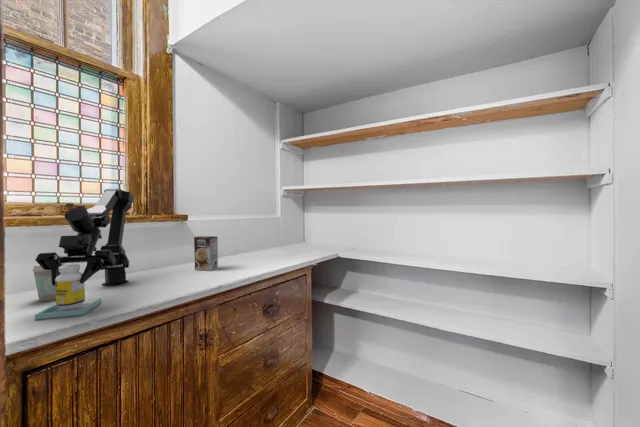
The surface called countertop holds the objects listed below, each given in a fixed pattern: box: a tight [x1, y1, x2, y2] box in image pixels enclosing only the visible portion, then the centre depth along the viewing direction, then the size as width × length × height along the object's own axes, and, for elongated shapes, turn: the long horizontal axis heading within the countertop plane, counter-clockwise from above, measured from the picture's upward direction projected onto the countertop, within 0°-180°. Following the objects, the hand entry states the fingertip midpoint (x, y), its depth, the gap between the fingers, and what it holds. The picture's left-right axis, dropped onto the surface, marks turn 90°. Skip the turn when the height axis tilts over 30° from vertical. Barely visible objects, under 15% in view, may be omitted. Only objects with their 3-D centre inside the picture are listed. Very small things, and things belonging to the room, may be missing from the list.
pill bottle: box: [55, 263, 86, 308], centre depth 84 cm, size 6×6×12 cm
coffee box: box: [193, 235, 219, 272], centre depth 138 cm, size 9×6×16 cm
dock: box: [34, 297, 102, 321], centre depth 84 cm, size 11×11×2 cm
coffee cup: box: [32, 263, 67, 302], centre depth 96 cm, size 9×8×12 cm
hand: (67, 283), depth 82 cm, fingers closed on pill bottle, 6 cm apart
